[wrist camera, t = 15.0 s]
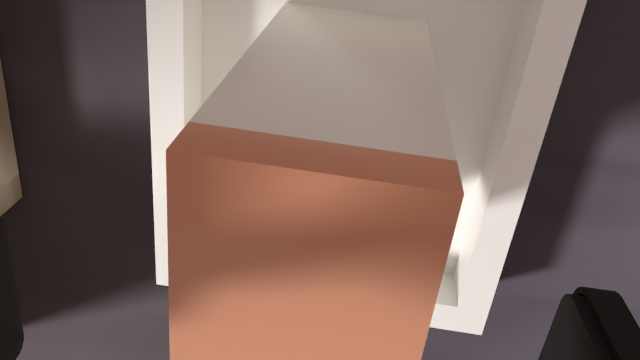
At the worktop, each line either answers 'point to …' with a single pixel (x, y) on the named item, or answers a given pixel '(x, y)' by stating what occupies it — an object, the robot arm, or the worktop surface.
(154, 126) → the tray
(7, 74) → the worktop surface
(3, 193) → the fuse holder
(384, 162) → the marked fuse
